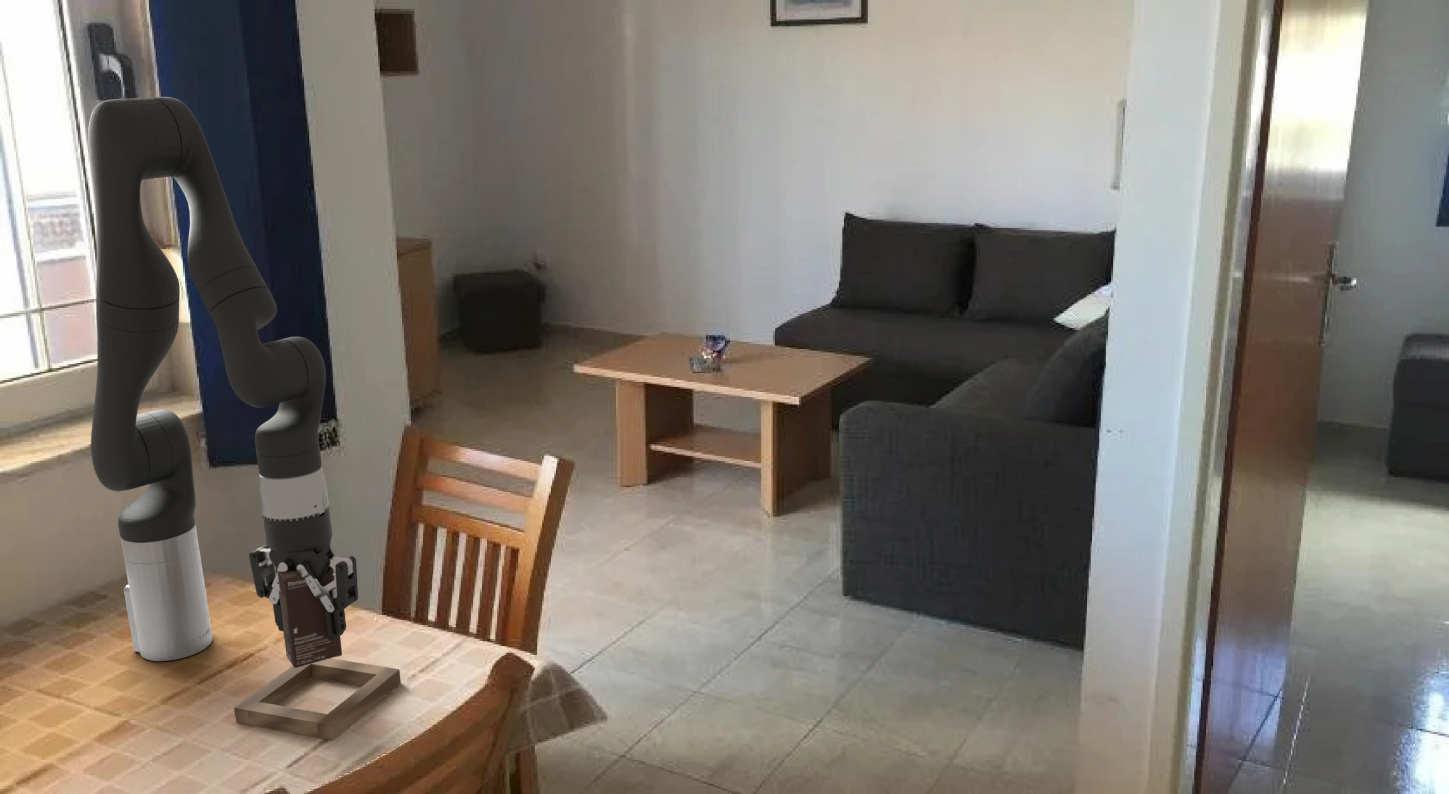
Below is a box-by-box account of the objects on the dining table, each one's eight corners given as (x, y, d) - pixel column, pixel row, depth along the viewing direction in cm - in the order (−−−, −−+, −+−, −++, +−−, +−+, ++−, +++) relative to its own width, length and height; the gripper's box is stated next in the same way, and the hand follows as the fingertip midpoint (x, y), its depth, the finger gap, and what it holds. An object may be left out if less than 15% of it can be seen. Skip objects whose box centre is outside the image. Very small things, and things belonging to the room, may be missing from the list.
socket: (235, 722, 143) (233, 707, 143) (309, 668, 156) (308, 654, 156) (332, 740, 139) (331, 725, 138) (400, 683, 152) (399, 669, 151)
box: (295, 671, 142) (282, 579, 139) (286, 656, 146) (273, 566, 143) (345, 656, 146) (334, 566, 142) (335, 643, 149) (323, 554, 146)
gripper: (224, 510, 139) (242, 638, 144) (326, 522, 135) (342, 654, 139) (267, 489, 146) (283, 612, 151) (365, 500, 142) (379, 626, 146)
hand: (311, 632), depth 145 cm, fingers closed on box, 6 cm apart
